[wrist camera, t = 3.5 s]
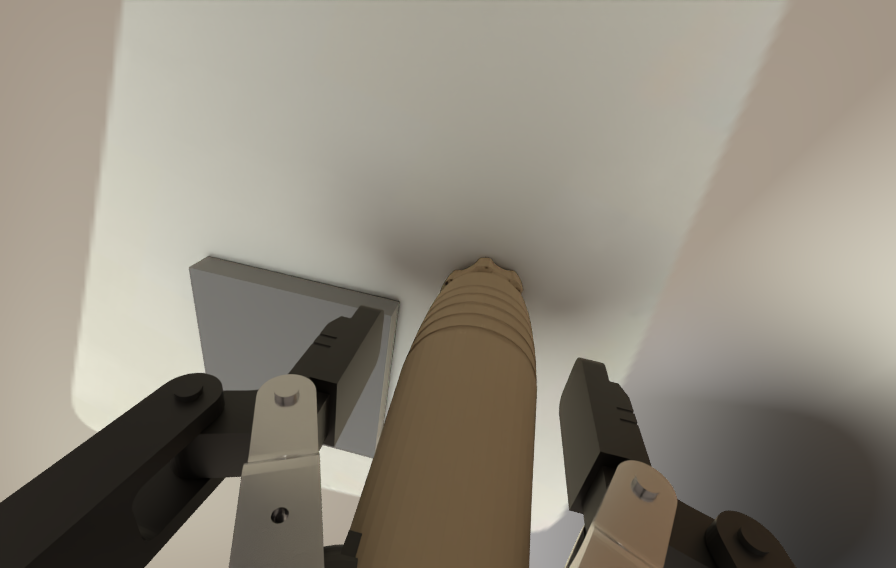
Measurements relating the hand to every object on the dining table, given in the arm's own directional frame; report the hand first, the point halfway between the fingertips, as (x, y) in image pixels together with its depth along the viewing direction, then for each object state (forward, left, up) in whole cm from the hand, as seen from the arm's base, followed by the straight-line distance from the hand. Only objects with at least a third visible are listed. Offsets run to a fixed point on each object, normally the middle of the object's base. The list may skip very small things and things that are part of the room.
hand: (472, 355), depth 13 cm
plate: (+6, -8, -4) cm, 11 cm away
